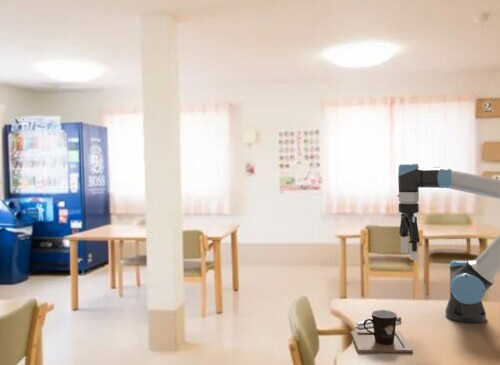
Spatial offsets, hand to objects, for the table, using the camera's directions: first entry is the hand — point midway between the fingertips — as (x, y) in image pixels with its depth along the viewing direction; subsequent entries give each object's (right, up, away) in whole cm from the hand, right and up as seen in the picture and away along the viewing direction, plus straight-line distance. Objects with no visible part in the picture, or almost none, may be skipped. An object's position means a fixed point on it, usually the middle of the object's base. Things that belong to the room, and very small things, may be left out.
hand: (409, 256), depth 190 cm
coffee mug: (-17, -28, -19) cm, 38 cm away
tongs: (-13, -27, -1) cm, 30 cm away
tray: (-17, -28, -19) cm, 38 cm away
